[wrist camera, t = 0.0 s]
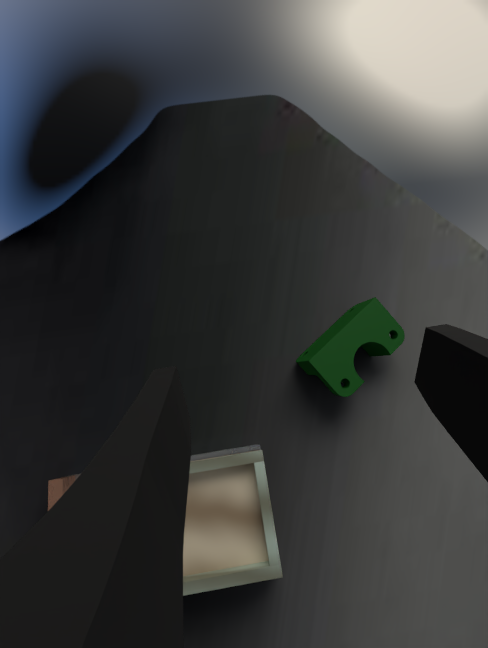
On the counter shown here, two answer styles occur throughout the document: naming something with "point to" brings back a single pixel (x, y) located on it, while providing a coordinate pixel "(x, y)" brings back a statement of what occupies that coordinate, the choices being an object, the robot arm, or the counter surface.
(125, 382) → the counter surface
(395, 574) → the counter surface
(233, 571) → the shallow open tray
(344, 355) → the clamp
